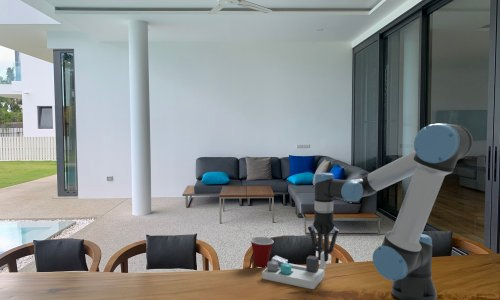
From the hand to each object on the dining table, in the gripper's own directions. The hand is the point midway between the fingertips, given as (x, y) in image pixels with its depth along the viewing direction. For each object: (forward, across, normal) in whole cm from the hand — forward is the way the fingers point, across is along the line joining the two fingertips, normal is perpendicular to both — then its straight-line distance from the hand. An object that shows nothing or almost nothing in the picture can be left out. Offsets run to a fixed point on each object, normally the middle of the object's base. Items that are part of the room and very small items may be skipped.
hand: (323, 268), depth 145 cm
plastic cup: (+5, +29, -3) cm, 30 cm away
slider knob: (+1, +4, 0) cm, 5 cm away
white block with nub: (+1, +20, 0) cm, 20 cm away
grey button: (+2, +19, +7) cm, 21 cm away
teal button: (+2, +13, +7) cm, 15 cm away
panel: (+5, +11, +4) cm, 13 cm away
